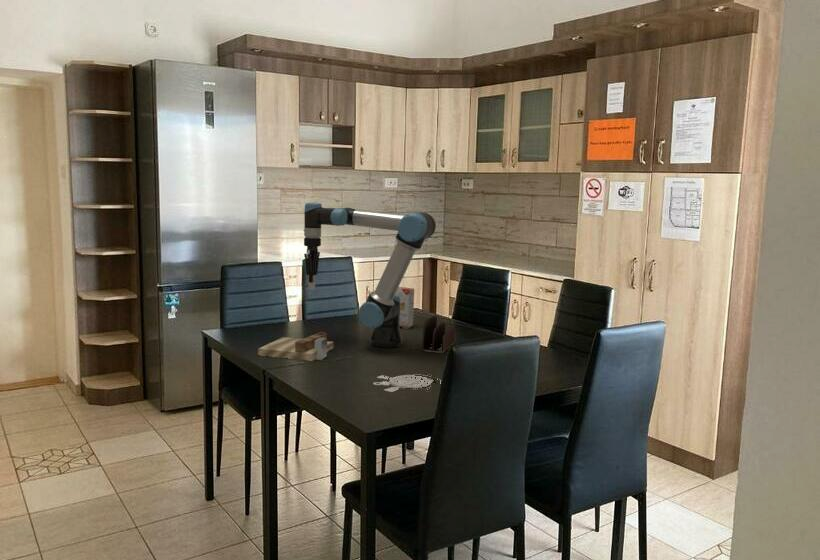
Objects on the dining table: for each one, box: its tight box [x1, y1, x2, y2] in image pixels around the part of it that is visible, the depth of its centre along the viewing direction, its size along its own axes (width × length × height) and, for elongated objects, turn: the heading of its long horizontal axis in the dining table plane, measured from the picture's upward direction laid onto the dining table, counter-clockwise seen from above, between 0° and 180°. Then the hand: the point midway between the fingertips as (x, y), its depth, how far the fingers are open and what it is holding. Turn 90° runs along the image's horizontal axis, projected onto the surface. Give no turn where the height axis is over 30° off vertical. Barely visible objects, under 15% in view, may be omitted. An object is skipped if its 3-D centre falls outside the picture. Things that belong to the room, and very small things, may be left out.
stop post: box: [314, 338, 328, 361], centre depth 276 cm, size 3×6×8 cm, turn 165°
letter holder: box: [421, 315, 455, 351], centre depth 302 cm, size 10×20×14 cm, turn 162°
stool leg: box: [295, 331, 328, 352], centre depth 283 cm, size 21×4×5 cm, turn 159°
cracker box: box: [395, 286, 415, 327], centre depth 345 cm, size 14×6×21 cm, turn 62°
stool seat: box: [257, 336, 334, 362], centre depth 286 cm, size 24×24×3 cm
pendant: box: [372, 373, 442, 393], centre depth 246 cm, size 21×28×1 cm
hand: (311, 289), depth 302 cm, fingers closed
